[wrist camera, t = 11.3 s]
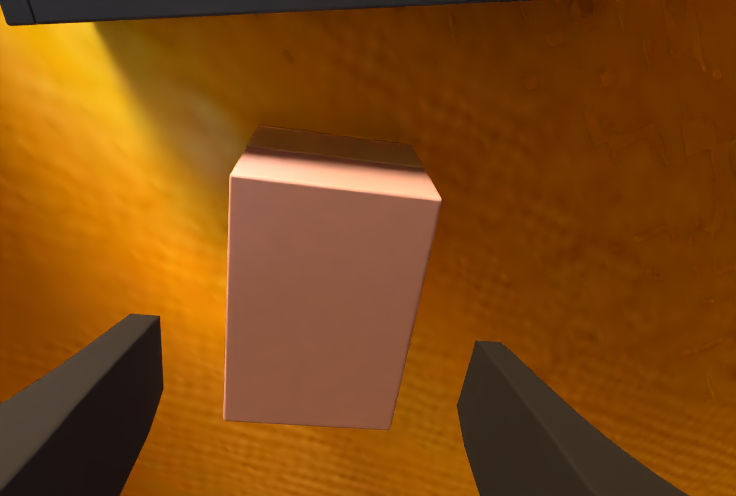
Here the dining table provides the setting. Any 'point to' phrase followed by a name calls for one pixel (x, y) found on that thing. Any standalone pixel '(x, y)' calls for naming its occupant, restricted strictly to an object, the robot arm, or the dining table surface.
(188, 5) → the storage box
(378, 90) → the dining table surface
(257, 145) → the pink rectangular block
